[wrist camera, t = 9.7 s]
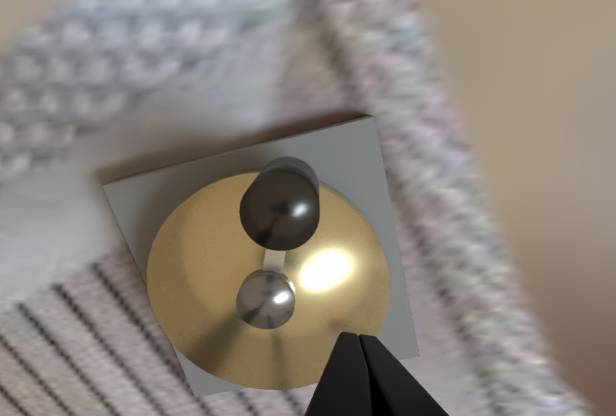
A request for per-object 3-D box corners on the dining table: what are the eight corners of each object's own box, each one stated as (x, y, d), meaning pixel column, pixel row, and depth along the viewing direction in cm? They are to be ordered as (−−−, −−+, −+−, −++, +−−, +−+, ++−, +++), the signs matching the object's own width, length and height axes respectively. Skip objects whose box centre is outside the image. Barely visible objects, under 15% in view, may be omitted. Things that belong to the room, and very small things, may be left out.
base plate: (202, 379, 25) (195, 397, 23) (116, 179, 20) (101, 185, 19) (413, 340, 23) (419, 356, 22) (369, 115, 19) (374, 116, 17)
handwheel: (425, 309, 20) (463, 383, 15) (248, 400, 23) (227, 492, 17) (302, 118, 17) (295, 128, 12) (111, 249, 20) (36, 305, 14)
